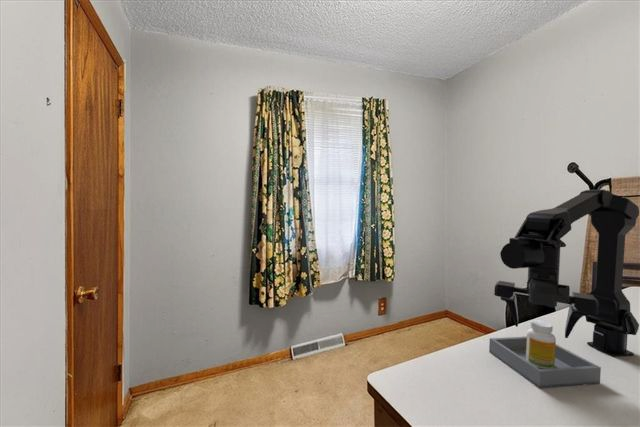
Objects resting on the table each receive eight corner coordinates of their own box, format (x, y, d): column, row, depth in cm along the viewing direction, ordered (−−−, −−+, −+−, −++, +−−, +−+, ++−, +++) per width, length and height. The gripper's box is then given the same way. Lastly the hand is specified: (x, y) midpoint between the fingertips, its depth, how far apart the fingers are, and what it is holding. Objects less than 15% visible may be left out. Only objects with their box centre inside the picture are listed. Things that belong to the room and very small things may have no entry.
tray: (539, 349, 75) (539, 335, 75) (599, 383, 61) (600, 367, 61) (489, 351, 74) (489, 338, 73) (539, 388, 59) (540, 371, 59)
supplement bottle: (559, 371, 64) (562, 329, 64) (533, 368, 65) (535, 327, 65) (545, 358, 69) (547, 320, 69) (521, 356, 70) (523, 317, 70)
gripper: (492, 265, 66) (490, 332, 66) (606, 280, 54) (601, 360, 55) (498, 258, 74) (495, 317, 75) (596, 270, 63) (592, 338, 64)
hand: (540, 331), depth 67 cm, fingers open, 9 cm apart
